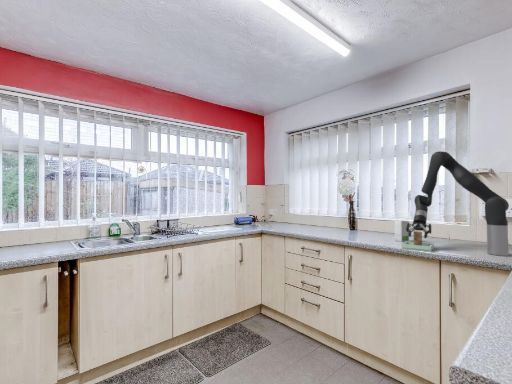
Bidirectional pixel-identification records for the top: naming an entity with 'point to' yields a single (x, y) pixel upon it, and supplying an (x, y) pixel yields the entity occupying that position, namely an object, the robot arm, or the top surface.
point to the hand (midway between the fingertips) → (417, 236)
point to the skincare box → (401, 231)
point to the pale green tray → (418, 246)
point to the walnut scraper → (417, 238)
